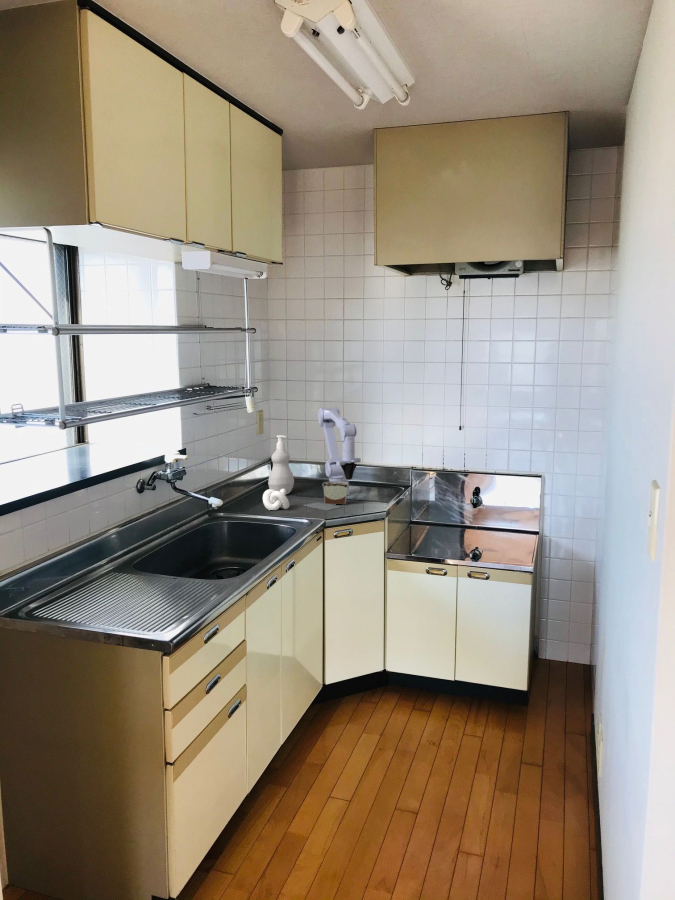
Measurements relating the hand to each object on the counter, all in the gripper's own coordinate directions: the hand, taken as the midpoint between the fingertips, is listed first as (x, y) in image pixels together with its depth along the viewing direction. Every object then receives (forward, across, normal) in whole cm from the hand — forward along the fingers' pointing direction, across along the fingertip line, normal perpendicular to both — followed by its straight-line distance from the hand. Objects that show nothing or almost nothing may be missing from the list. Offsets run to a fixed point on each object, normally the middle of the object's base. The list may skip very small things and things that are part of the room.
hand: (348, 479), depth 336 cm
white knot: (+11, -34, +12) cm, 38 cm away
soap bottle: (+10, -9, +38) cm, 41 cm away
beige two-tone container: (+10, -9, 0) cm, 14 cm away
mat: (+10, -17, 0) cm, 20 cm away
